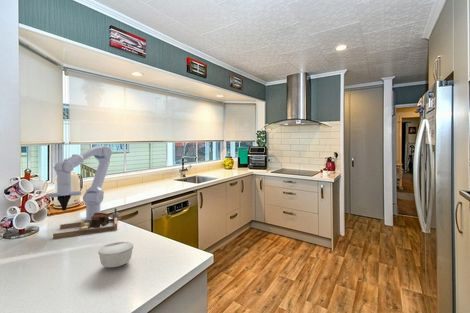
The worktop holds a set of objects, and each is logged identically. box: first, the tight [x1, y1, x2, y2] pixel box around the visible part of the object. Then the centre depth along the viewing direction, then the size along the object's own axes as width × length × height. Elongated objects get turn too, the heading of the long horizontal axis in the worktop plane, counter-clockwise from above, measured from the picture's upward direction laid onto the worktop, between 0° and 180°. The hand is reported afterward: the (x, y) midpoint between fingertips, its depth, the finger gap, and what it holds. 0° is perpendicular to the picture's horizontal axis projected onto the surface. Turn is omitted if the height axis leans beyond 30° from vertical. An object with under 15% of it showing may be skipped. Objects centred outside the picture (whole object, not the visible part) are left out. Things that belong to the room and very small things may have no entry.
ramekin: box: [97, 241, 134, 268], centre depth 81 cm, size 11×11×5 cm
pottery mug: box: [89, 212, 110, 229], centre depth 122 cm, size 12×9×8 cm
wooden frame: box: [52, 207, 119, 239], centre depth 118 cm, size 18×27×8 cm, turn 118°
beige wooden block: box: [79, 219, 90, 230], centre depth 117 cm, size 11×3×4 cm, turn 28°
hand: (64, 210), depth 118 cm, fingers closed
